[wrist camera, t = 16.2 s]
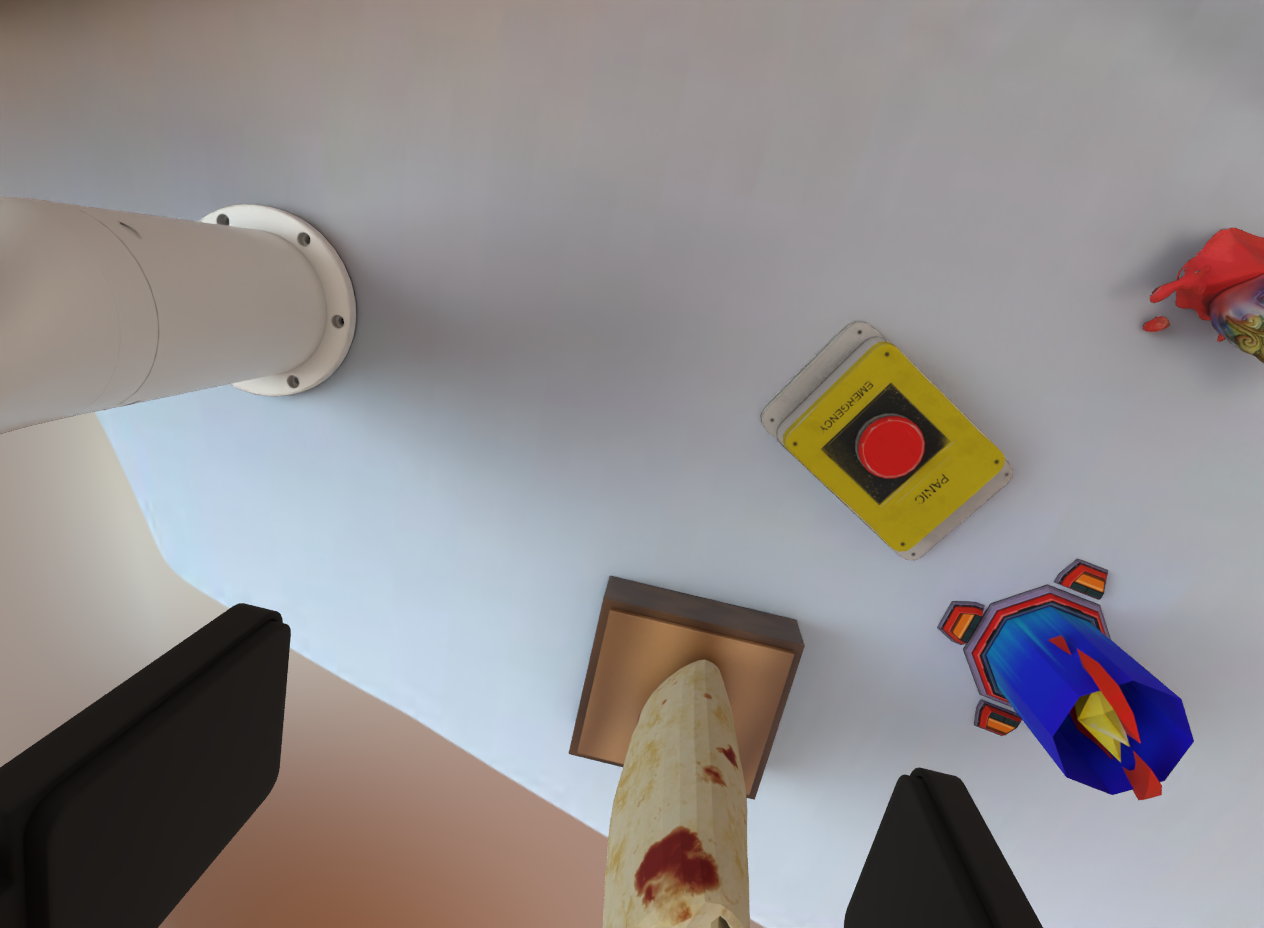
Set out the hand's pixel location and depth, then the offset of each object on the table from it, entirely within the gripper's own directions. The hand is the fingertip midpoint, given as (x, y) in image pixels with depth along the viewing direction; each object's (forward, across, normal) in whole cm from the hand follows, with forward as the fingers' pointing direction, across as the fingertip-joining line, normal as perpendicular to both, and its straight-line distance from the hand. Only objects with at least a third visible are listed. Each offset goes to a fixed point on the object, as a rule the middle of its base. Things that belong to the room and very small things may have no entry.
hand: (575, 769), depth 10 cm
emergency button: (+36, -15, 0) cm, 39 cm away
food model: (+32, -6, +20) cm, 39 cm away
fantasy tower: (+36, -30, +12) cm, 49 cm away
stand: (+36, -6, +20) cm, 42 cm away
